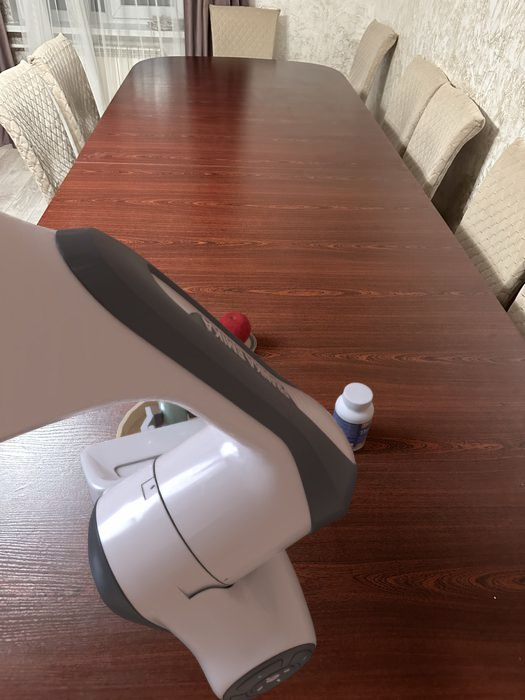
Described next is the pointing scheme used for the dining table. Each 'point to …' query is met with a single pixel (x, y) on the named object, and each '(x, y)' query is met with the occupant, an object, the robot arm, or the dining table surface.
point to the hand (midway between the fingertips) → (171, 405)
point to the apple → (239, 328)
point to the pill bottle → (355, 413)
